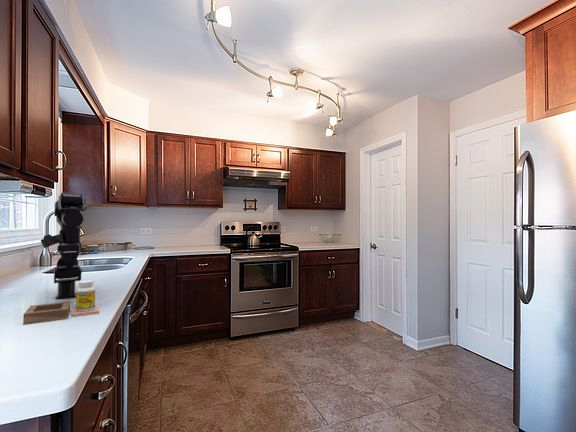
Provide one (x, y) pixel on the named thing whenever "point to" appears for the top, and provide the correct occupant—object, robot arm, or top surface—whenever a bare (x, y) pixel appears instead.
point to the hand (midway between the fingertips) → (70, 269)
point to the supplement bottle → (85, 296)
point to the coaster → (77, 313)
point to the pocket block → (46, 312)
